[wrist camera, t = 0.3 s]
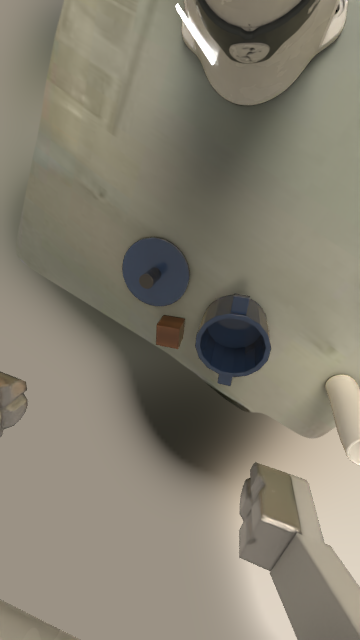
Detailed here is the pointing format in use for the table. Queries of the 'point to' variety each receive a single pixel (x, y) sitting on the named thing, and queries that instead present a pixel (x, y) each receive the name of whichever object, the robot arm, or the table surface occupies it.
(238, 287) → the table surface
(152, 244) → the lid
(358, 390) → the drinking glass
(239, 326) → the pot
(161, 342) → the block
